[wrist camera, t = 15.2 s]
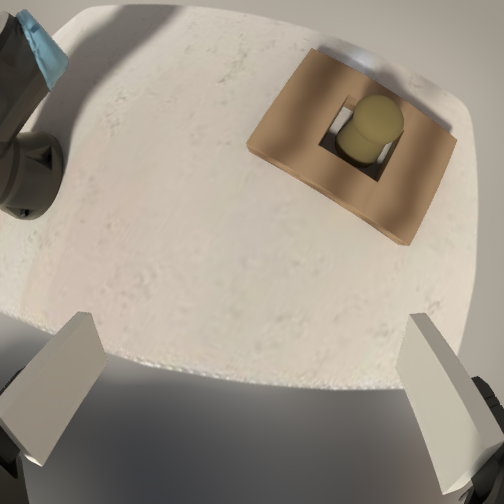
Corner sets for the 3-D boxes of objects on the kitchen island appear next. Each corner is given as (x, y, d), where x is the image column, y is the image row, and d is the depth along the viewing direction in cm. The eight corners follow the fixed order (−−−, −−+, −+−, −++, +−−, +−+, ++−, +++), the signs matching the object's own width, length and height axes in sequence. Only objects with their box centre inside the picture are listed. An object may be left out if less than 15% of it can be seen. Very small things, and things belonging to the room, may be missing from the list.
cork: (350, 115, 34) (371, 74, 23) (388, 143, 34) (421, 111, 23) (325, 148, 35) (341, 114, 24) (364, 177, 34) (395, 155, 24)
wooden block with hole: (249, 151, 36) (246, 143, 32) (310, 61, 34) (311, 48, 31) (398, 244, 34) (409, 245, 31) (445, 146, 33) (457, 140, 29)
